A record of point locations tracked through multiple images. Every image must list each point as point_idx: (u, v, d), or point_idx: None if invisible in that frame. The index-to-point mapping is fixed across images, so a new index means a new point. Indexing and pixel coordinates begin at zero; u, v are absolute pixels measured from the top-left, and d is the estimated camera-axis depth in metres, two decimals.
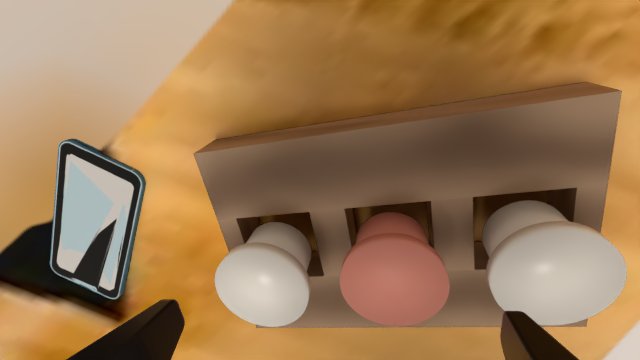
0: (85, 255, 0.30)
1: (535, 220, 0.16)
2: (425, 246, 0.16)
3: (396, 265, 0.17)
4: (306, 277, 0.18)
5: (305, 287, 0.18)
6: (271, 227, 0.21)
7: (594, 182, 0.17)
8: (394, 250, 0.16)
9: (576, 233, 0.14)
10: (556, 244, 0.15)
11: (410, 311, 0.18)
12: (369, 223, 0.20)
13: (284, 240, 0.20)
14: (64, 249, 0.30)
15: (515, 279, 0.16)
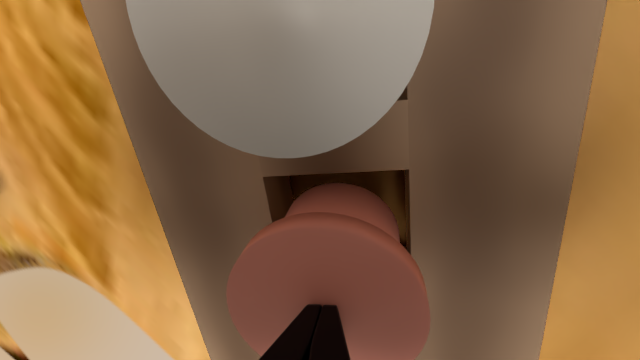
0: None
1: None
2: None
3: (273, 304, 0.09)
4: None
5: None
6: None
7: None
8: (243, 304, 0.09)
9: None
10: (166, 32, 0.06)
11: (386, 297, 0.08)
12: None
13: None
14: None
15: (275, 107, 0.06)
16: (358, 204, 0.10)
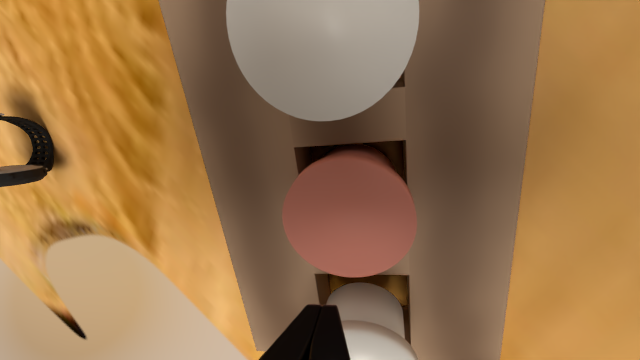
0: None
1: None
2: (294, 182, 0.14)
3: (314, 217, 0.14)
4: (345, 326, 0.15)
5: (351, 335, 0.14)
6: None
7: None
8: (293, 218, 0.14)
9: (231, 13, 0.10)
10: (251, 39, 0.10)
11: (388, 207, 0.13)
12: None
13: None
14: None
15: (319, 86, 0.10)
16: (369, 155, 0.15)
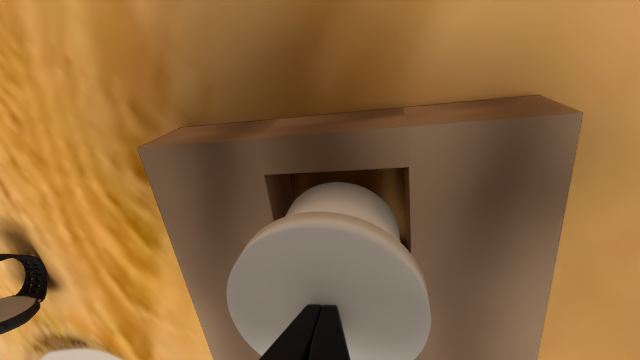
0: None
1: None
2: None
3: None
4: None
5: None
6: None
7: (254, 155, 0.12)
8: None
9: (232, 293, 0.09)
10: (253, 315, 0.09)
11: None
12: None
13: None
14: None
15: None
16: None
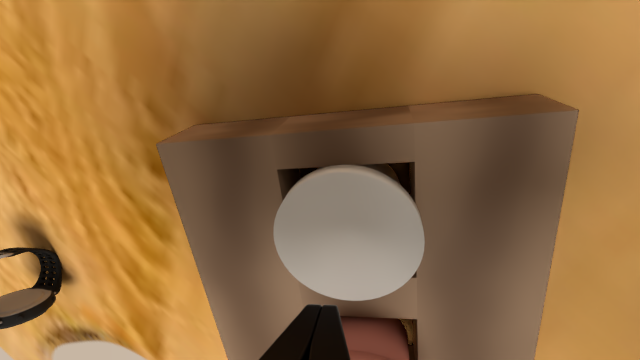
0: None
1: None
2: None
3: None
4: None
5: None
6: None
7: (267, 150, 0.12)
8: None
9: (277, 227, 0.12)
10: (292, 245, 0.13)
11: None
12: None
13: None
14: None
15: (345, 279, 0.13)
16: (380, 328, 0.15)
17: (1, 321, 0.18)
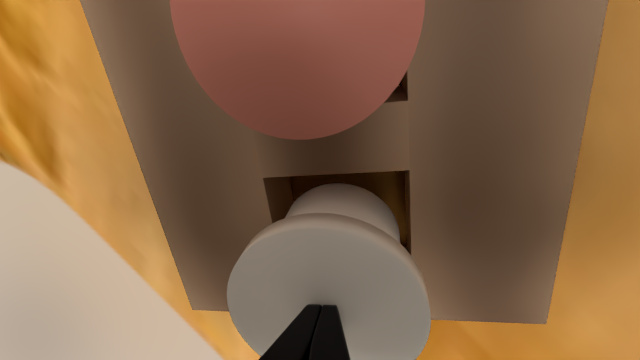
0: None
1: None
2: None
3: (227, 6, 0.07)
4: (296, 220, 0.08)
5: (304, 231, 0.08)
6: None
7: None
8: (191, 14, 0.07)
9: None
10: None
11: None
12: None
13: None
14: None
15: None
16: None
17: None
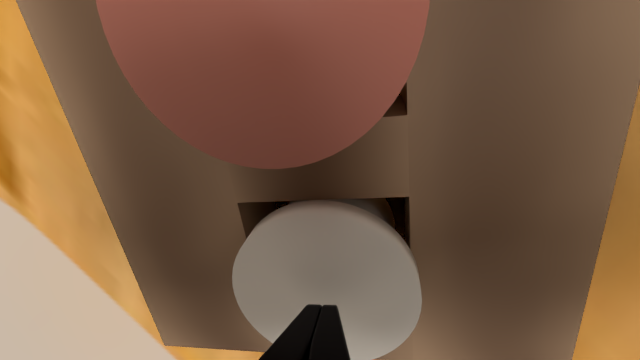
0: None
1: None
2: None
3: None
4: (297, 207, 0.09)
5: (304, 216, 0.09)
6: None
7: None
8: (123, 8, 0.06)
9: None
10: None
11: None
12: None
13: None
14: None
15: None
16: None
17: None
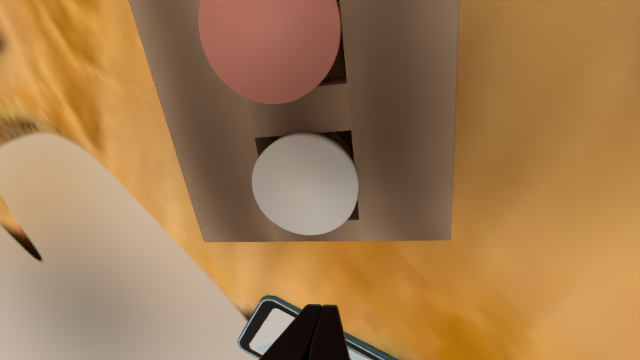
0: None
1: None
2: None
3: (231, 26, 0.13)
4: (288, 135, 0.16)
5: (292, 138, 0.16)
6: None
7: None
8: (210, 30, 0.13)
9: None
10: None
11: (307, 2, 0.12)
12: None
13: None
14: None
15: None
16: None
17: None
